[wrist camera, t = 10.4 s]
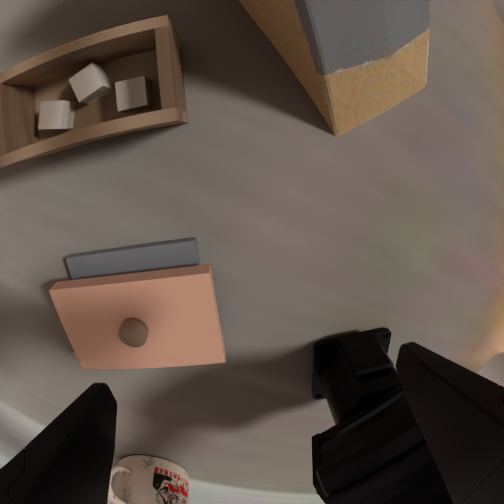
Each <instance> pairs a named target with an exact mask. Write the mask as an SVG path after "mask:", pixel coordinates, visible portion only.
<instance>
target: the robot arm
mask: <svg viewBox="0 0 504 504" xmlns="http://www.w3.org/2000/svg"><path fill="white" fill-rule="evenodd" d="M385 333H386V334H385ZM384 334H385V335H384ZM390 338H391V332H390V330H389V329H388V328H382V329H378V330H373V331H369V332H364V333H359V334H355V335H350V336H345V337H340V338H334V339H329V340H324V341H319V342H317V343H315V345H314V347H313V380H312V396H313V398H314V399H316V400H318V399H323V398H326V399H327V402H328V405H329V408H330V410H331V413H332V416H333V419H334V422H335V424H336V425H335V426H333V427H331V428H330V429H328V430H326V431H324V432H322V433H321V434H319V433H318V434H316V435H315V436H313V437H312V464H313V485H314V487H315V488H316V492H317V494H318V495H319V496H320V497H321V499H322V500H323V501H324V503H325V504H504V387H503V386H500V385H498V384H496V383H494V382H492V381H490V380H488V379H486V378H484V377H482V376H480V375H478V374H476V373H474V372H472V371H470V370H468V369H466V368H464V367H462V366H460V365H458V364H456V363H454V362H452V361H450V360H448V359H446V358H444V357H443V356H441V355H439V354H437V353H435V352H433V351H431V350H429V349H427V348H425V347H423V346H421V345H419V344H417V343H415V342H409V343H406V344H403V345H401V347H400V349H399V354H398V358H397V362H396V369H395V368H394V366H393V363H392V361H391V360H390V358H389V356H388V355H387V353H388V348H389V343H390ZM319 347H322V348H320V349H318V348H319ZM396 370H397V371H396ZM317 394H318V395H317ZM116 416H117V402H116V400H115V398H114V396H113V394H112V392H111V390H110V388H109V386H108V385H107V384H106V383H93V384H92V385H91V386H90V387H89V388H88V389H86V390H85V391H84V392H83V393H82V394H81V395H80V396H79V397H78V398H77V399H76V400H75V401H74V402H73V403H71V404H70V405H69V406H68V407H67V408H66V409H65V410H64V411H63V412H62V413H61V414H60V415H59V416H58V417H56V418H55V419H54V420H53V421H52V422H51V423H50V424H49V425H48V426H47V427H46V428H45V429H44V430H43V431H42V432H40V433H39V434H38V435H37V436H36V437H35V438H34V439H33V440H32V441H31V442H30V443H29V444H28V445H27V446H26V447H25V449H22V450H21V451H20V452H19V453H18V454H17V455H16V456H15V457H14V458H13V459H12V460H10V461H9V462H8V463H7V464H6V465H5V466H3V467H2V468H1V469H0V504H107V501H108V492H109V484H110V477H111V470H112V463H113V456H114V449H115V433H116Z"/></svg>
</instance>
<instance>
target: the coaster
mask: <svg viewBox="0 0 504 504" xmlns="http://www.w3.org/2000/svg"><path fill="white" fill-rule="evenodd" d="M65 259H66V262H67V265H68V268H69V272H70V275H71V278H72V280H77V279H86V278H95V277H103V276H112V275H121V274H130V273H138V272H147V271H156V270H164V269H173V268H181V267H190V266H198V265H200V261H199V256H198V250H197V244H196V238H195V237H193V238H186V239H178V240H171V241H163V242H156V243H148V244H141V245H134V246H127V247H120V248H113V249H106V250H99V251H92V252H85V253H79V254H72V255H68V256H67V257H66V258H65Z"/></svg>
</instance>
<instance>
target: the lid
mask: <svg viewBox="0 0 504 504" xmlns="http://www.w3.org/2000/svg"><path fill="white" fill-rule="evenodd" d="M49 292H50V295H51V298H52V300H53V303H54V305H55V308H56V310H57V313H58V315H59V318H60V320H61V323H62V325H63V327H64V330H65V332H66V334H67V336H68V339H69V341H70V343H71V345H72V347H73V349H74V351H75V354H76V356H77V358H78V360H79V362H80V364H81V366H82V368H83V369H138V368H161V367H178V366H191V365H203V364H214V363H224V362H225V348H224V343H223V337H222V332H221V326H220V321H219V315H218V309H217V304H216V298H215V292H214V286H213V280H212V274H211V268H210V264H206V265H198V266H190V267H181V268H173V269H164V270H156V271H147V272H138V273H130V274H121V275H112V276H103V277H95V278H86V279H77V280H68V281H59V282H56V283H55V284H54V285H53V286H52V287H51V288H50V289H49Z"/></svg>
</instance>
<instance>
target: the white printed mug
mask: <svg viewBox="0 0 504 504" xmlns="http://www.w3.org/2000/svg"><path fill="white" fill-rule="evenodd" d="M116 472H117V473H116ZM115 473H116V478H115V483H114V489H113V490H112V485H111V483H112V478H113V476H114V474H115ZM188 491H189V476H188V473H187V472H186V471H185V470H184V469H183V468H182V467H181V466H179V465H177V464H175V463H173V462H171V461H168V460H166V459H162V458H158V457H153V456H146V455H133V456H128V457H125V458H123V459H121V460H120V461H119V463H118V465H113V466H112V470H111V477H110V484H109V492H108V500H109V501H110V502H111V504H188Z"/></svg>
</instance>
